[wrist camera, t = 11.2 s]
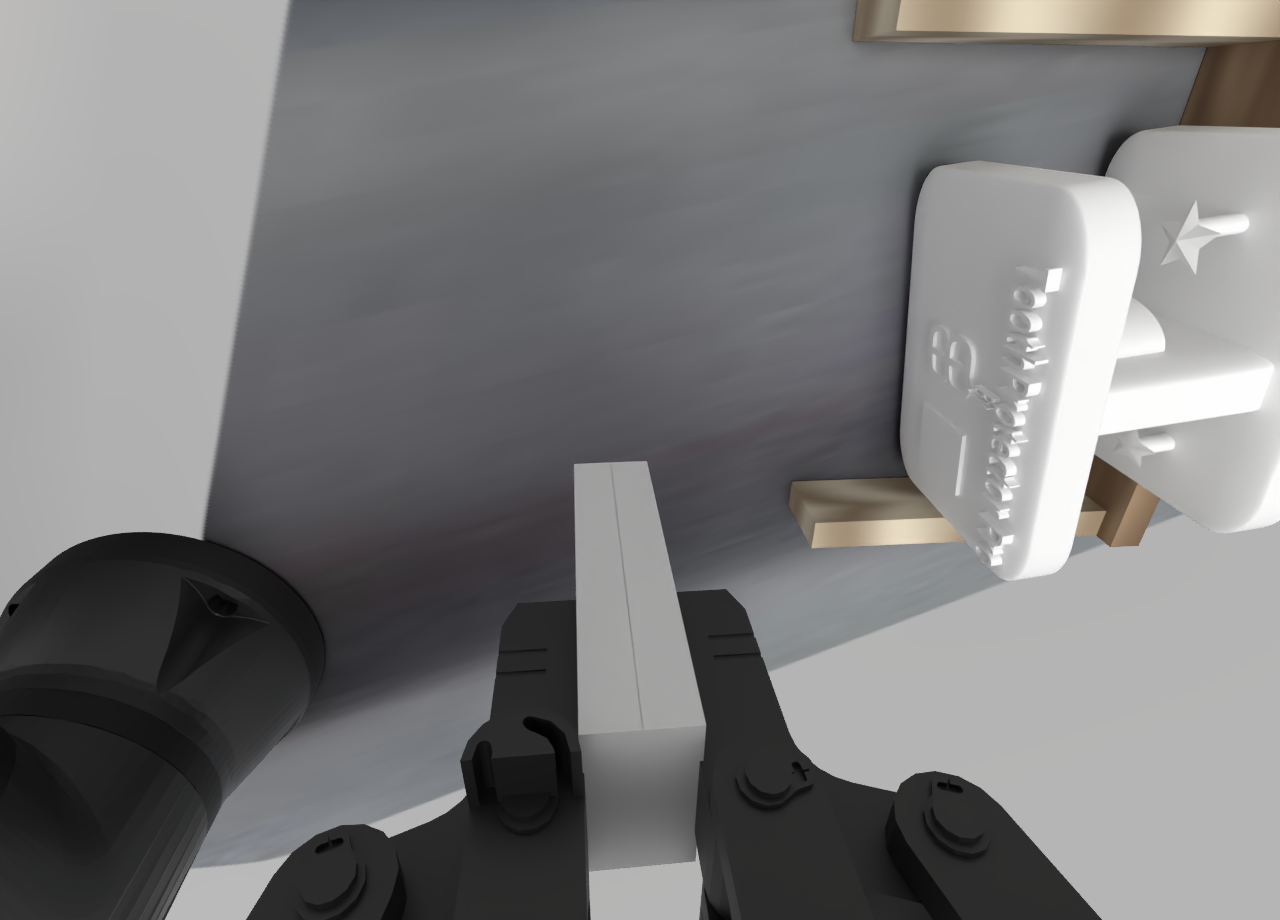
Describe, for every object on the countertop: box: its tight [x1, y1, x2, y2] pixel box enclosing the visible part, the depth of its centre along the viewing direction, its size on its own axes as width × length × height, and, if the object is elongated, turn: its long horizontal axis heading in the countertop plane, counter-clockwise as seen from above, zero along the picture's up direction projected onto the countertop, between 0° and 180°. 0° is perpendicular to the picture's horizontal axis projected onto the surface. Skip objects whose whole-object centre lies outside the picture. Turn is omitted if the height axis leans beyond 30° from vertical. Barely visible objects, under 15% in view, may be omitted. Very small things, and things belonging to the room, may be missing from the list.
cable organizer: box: [900, 125, 1280, 581], centre depth 26 cm, size 15×11×12 cm
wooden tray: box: [789, 0, 1280, 548], centre depth 29 cm, size 16×23×5 cm
